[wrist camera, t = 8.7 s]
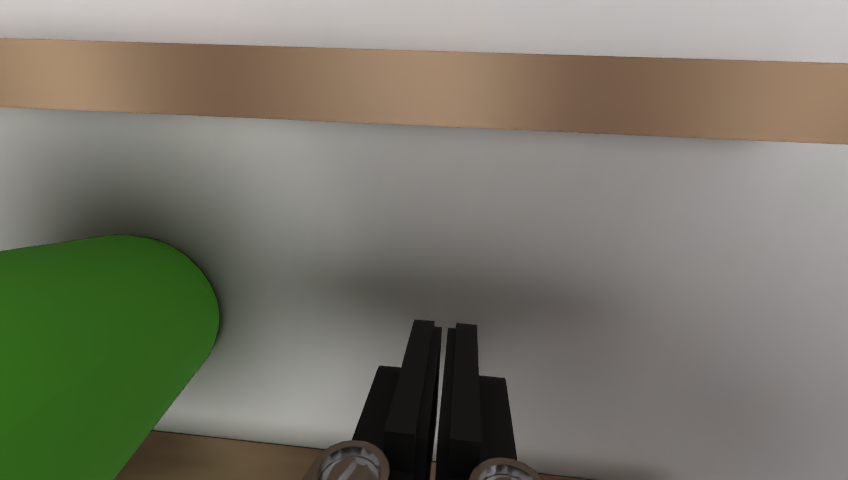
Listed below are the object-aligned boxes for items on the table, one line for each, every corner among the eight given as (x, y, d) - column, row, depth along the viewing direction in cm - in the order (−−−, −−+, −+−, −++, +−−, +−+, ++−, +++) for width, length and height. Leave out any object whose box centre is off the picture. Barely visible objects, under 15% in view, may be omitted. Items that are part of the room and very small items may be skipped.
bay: (772, 86, 10) (1121, 53, 5) (646, 511, 14) (751, 737, 9) (-208, 52, 12) (-721, 4, 7) (-50, 430, 16) (-285, 575, 11)
